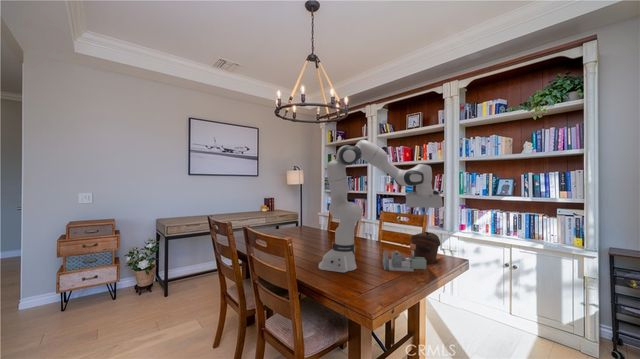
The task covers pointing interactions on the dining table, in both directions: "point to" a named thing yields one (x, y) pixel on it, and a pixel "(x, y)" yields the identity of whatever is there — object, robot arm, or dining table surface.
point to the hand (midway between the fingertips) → (423, 215)
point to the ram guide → (418, 263)
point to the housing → (396, 258)
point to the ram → (412, 247)
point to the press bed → (389, 266)
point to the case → (426, 246)
